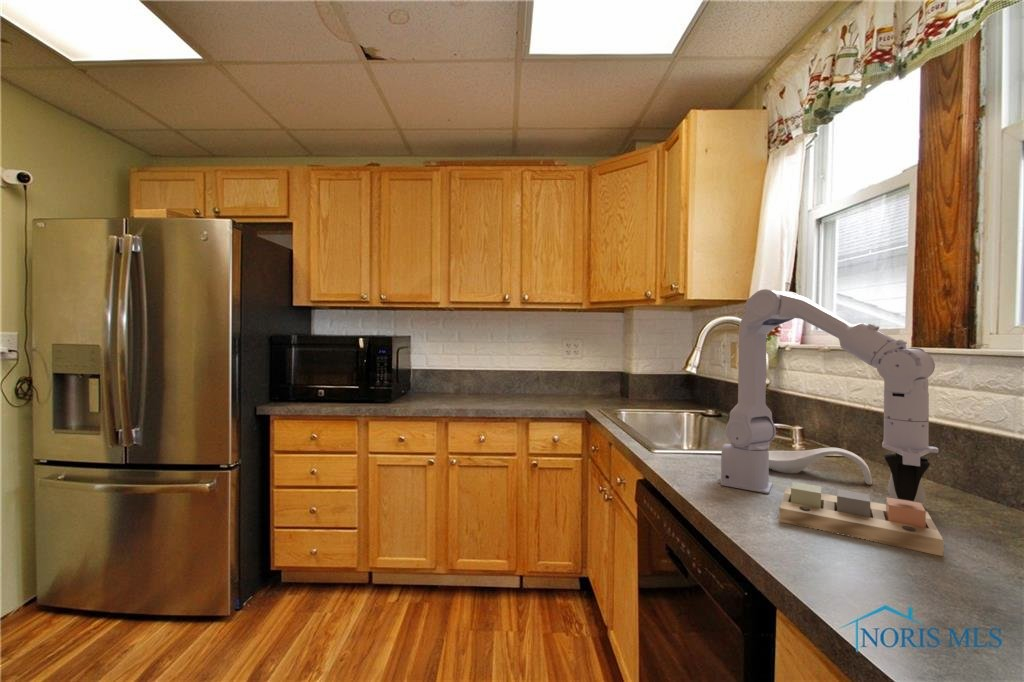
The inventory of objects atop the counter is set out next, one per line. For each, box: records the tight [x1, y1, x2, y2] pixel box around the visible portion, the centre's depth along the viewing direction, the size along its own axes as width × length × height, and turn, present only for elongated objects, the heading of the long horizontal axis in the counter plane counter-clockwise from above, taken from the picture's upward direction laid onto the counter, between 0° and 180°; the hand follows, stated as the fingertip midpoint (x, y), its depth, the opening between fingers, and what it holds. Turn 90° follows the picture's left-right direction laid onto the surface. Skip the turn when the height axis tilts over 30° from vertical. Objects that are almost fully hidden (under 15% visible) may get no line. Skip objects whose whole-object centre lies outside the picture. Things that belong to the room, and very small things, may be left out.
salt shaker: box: [886, 473, 927, 505], centre depth 88 cm, size 6×6×13 cm
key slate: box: [836, 488, 871, 517], centre depth 79 cm, size 5×5×3 cm
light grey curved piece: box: [769, 447, 873, 486], centre depth 110 cm, size 24×12×7 cm, turn 54°
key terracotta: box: [885, 497, 927, 528], centre depth 75 cm, size 5×5×3 cm
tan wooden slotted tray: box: [779, 486, 944, 557], centre depth 79 cm, size 21×14×3 cm, turn 54°
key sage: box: [790, 481, 822, 508], centre depth 83 cm, size 5×5×3 cm
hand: (905, 498), depth 75 cm, fingers closed
